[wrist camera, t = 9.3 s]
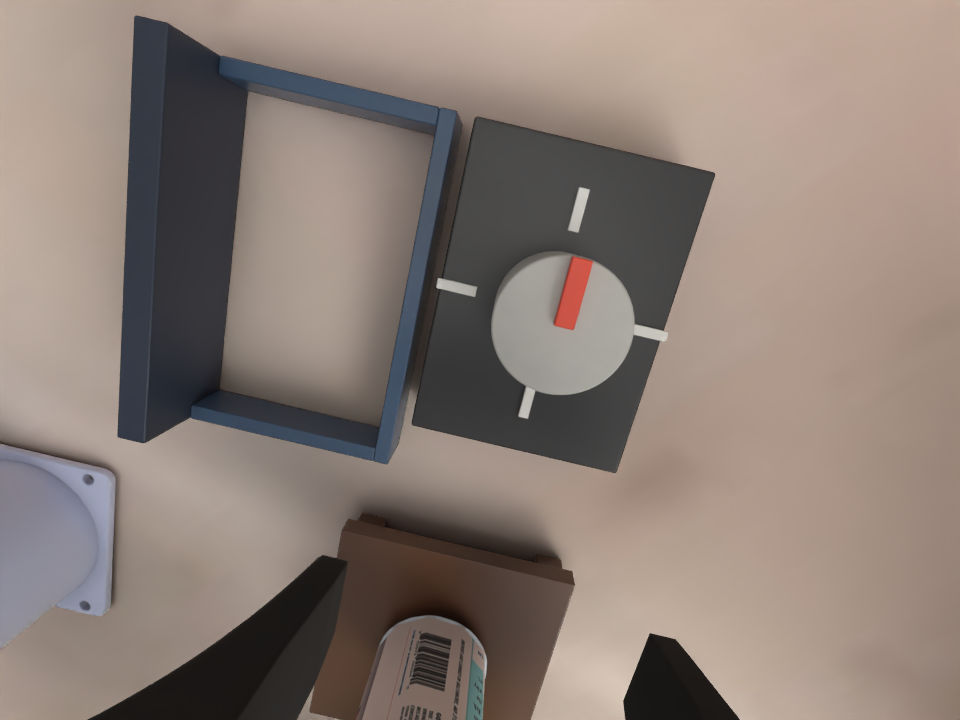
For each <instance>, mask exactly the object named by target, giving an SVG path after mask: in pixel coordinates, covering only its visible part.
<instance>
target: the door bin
mask: <svg viewBox="0 0 960 720" xmlns="http://www.w3.org/2000/svg"><path fill="white" fill-rule="evenodd" d="M248 91H250V92H254V93H259V94H263V95H267V96H271V97H275V98H280V99H284V100H288V101H292V102H297V103H301V104H305V105H309V106H313V107H318V108H322V109H326V110H330V111H335V112H339V113H343V114H347V115H351V116H356V117H360V118H364V119H368V120H372V121H377V122H381V123H385V124H389V125H394V126H398V127H402V128H406V129H410V130H415V131H419V132H423V133H427V134H431V135H435V137H434V142H433V147H432V153H431V158H430V163H429V169H428V174H427V179H426V184H425V190H424V195H423V200H422V206H421V211H420V216H419V222H418V227H417V232H416V237H415V243H414V248H413V253H412V259H411V264H410V269H409V275H408V280H407V285H406V290H405V296H404V301H403V306H402V312H401V317H400V322H399V327H398V333H397V338H396V343H395V349H394V354H393V359H392V365H391V370H390V375H389V380H388V386H387V391H386V396H385V402H384V407H383V412H382V418H381V423H380V428H379V427H375V426H371V425H367V424H362V423H358V422H354V421H350V420H345V419H341V418H337V417H333V416H328V415H324V414H320V413H316V412H312V411H307V410H303V409H299V408H295V407H290V406H286V405H282V404H278V403H273V402H269V401H265V400H261V399H256V398H252V397H248V396H244V395H239V394H235V393H231V392H227V391H223V390H219V385H220V375H221V364H222V354H223V343H224V333H225V323H226V312H227V302H228V291H229V281H230V270H231V260H232V249H233V239H234V228H235V218H236V207H237V197H238V186H239V176H240V165H241V155H242V144H243V134H244V123H245V113H246V103H247V92H248ZM462 126H463V125H462V122H461V120H460V117H459V115H458V113H457V111H454V110H450V109H446V108H439V107H436V106H432V105H428V104H424V103H420V102H415V101H411V100H407V99H403V98H398V97H394V96H390V95H386V94H382V93H377V92H373V91H369V90H365V89H361V88H356V87H352V86H348V85H344V84H339V83H335V82H331V81H327V80H323V79H318V78H314V77H310V76H306V75H302V74H297V73H293V72H289V71H285V70H280V69H276V68H272V67H268V66H264V65H259V64H255V63H251V62H247V61H243V60H238V59H234V58H230V57H226V56H220V55H218V54H216V53H215V52H213V51H212V50H210V49H208V48H207V47H205V46H204V45H202V44H200V43H199V42H197V41H196V40H194V39H192V38H191V37H189V36H188V35H186V34H184V33H183V32H181V31H180V30H178V29H176V28H175V27H173V26H172V25H170V24H168V23H166V22H162V21H158V20H153V19H149V18H145V17H141V16H135V17H134V38H133V63H132V88H131V113H130V138H129V163H128V188H127V213H126V238H125V263H124V288H123V313H122V338H121V363H120V388H119V413H118V437H119V438H123V439H127V440H132V441H136V442H140V443H146V442H148V441H150V440H151V439H153V438H155V437H157V436H158V435H160V434H162V433H164V432H165V431H167V430H169V429H171V428H173V427H174V426H176V425H178V424H180V423H181V422H183V421H185V420H187V419H188V418H190V417H191V418H193V419H197V420H201V421H205V422H210V423H214V424H218V425H222V426H227V427H231V428H235V429H239V430H243V431H248V432H252V433H256V434H260V435H265V436H269V437H273V438H277V439H282V440H286V441H290V442H294V443H299V444H303V445H307V446H311V447H316V448H320V449H324V450H328V451H333V452H337V453H341V454H345V455H349V456H354V457H358V458H362V459H366V460H371V461H373V460H374V461H375V462H379V463H383V464H388V463H389V461H390V459H391V457H392V455H393V453H394V451H395V449H396V448H397V446H398V444H399V439H400V434H401V429H402V424H403V419H404V414H405V409H406V404H407V399H408V394H409V389H410V384H411V379H412V374H413V369H414V364H415V359H416V354H417V349H418V344H419V339H420V334H421V329H422V324H423V319H424V314H425V310H426V305H427V300H428V295H429V290H430V285H431V280H432V275H433V270H434V265H435V260H436V255H437V250H438V245H439V240H440V235H441V230H442V225H443V220H444V215H445V210H446V205H447V200H448V195H449V190H450V185H451V180H452V175H453V171H454V166H455V161H456V156H457V151H458V146H459V141H460V136H461V131H462Z"/></svg>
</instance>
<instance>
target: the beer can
mask: <svg viewBox="0 0 960 720" xmlns="http://www.w3.org/2000/svg"><path fill="white" fill-rule="evenodd" d="M486 671H487V658H486V655H485V652H484V649H483V646H482V644H481V643H480V642H479V640H478V639H477V637H476V636H475V635H474V634H473V633H472V632H471V631H470V630H469V629H467V628H466V627H465V626H463V625H462V624H460V623H458V622H456V621H453V620H450V619H447V618H444V617H441V616H433V615H425V616H418V617H411V618H408V619H406V620H404V621H402V622H399V623H397V624H396V625H395V626H393V627H392V628H391V629H390V630H389V631H388V632H387V633H386V634H385V635H384V637H383V639H382V641H381V642H380V644H379V647H378V650H377V653H376V656H375V659H374V662H373V665H372V669H371V672H370V675H369V678H368V681H367V684H366V687H365V691H364V694H363V697H362V700H361V703H360V706H359V709H358V713H357V716H356V719H355V720H483V702H484V684H485V677H486Z"/></svg>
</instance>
